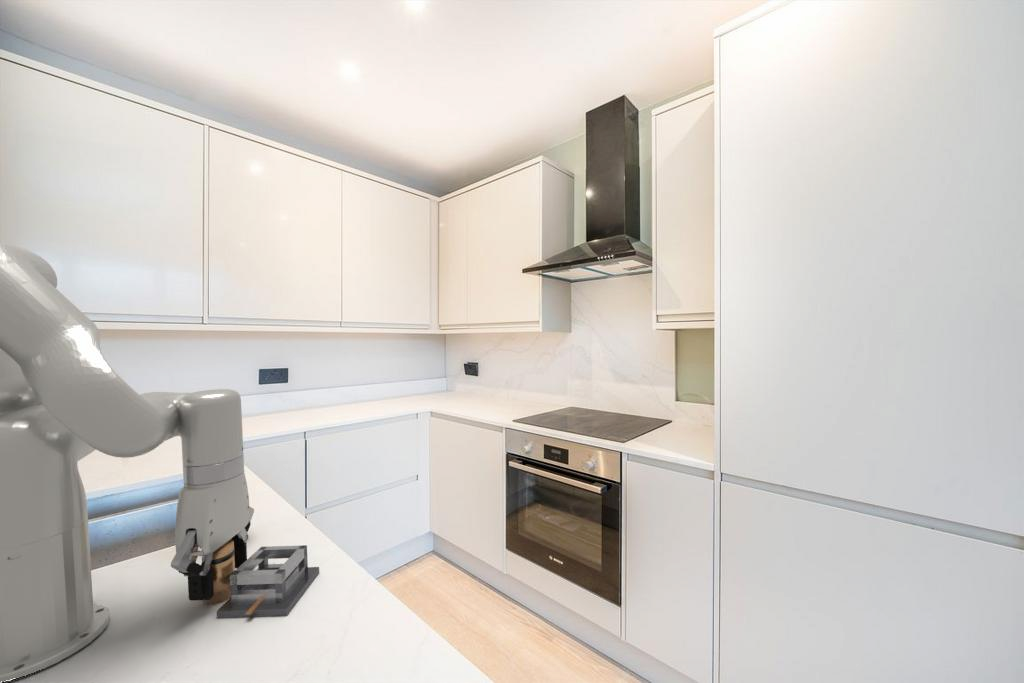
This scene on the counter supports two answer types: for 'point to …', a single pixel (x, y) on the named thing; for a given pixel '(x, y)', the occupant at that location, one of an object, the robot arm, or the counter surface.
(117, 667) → the counter surface
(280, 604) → the collar stand
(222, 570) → the copper tube
